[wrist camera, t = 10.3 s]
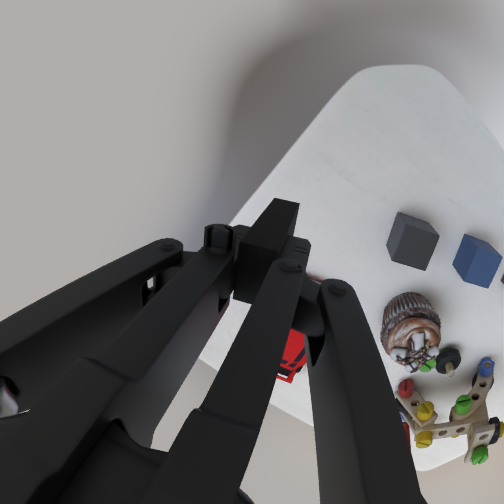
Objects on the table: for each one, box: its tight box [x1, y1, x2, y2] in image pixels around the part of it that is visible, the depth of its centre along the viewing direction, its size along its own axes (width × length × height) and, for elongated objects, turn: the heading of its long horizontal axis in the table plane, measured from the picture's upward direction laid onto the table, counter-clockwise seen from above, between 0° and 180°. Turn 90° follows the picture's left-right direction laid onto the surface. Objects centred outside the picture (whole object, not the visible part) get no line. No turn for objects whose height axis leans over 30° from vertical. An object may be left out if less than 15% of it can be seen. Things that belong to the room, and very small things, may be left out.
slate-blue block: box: [452, 234, 502, 288], centre depth 31 cm, size 5×5×5 cm
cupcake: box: [380, 292, 441, 373], centre depth 35 cm, size 10×10×10 cm
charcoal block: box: [386, 212, 440, 271], centre depth 33 cm, size 5×5×5 cm
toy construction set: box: [395, 348, 504, 465], centre depth 35 cm, size 27×22×21 cm
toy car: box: [277, 280, 321, 383], centre depth 44 cm, size 10×20×5 cm, turn 165°
